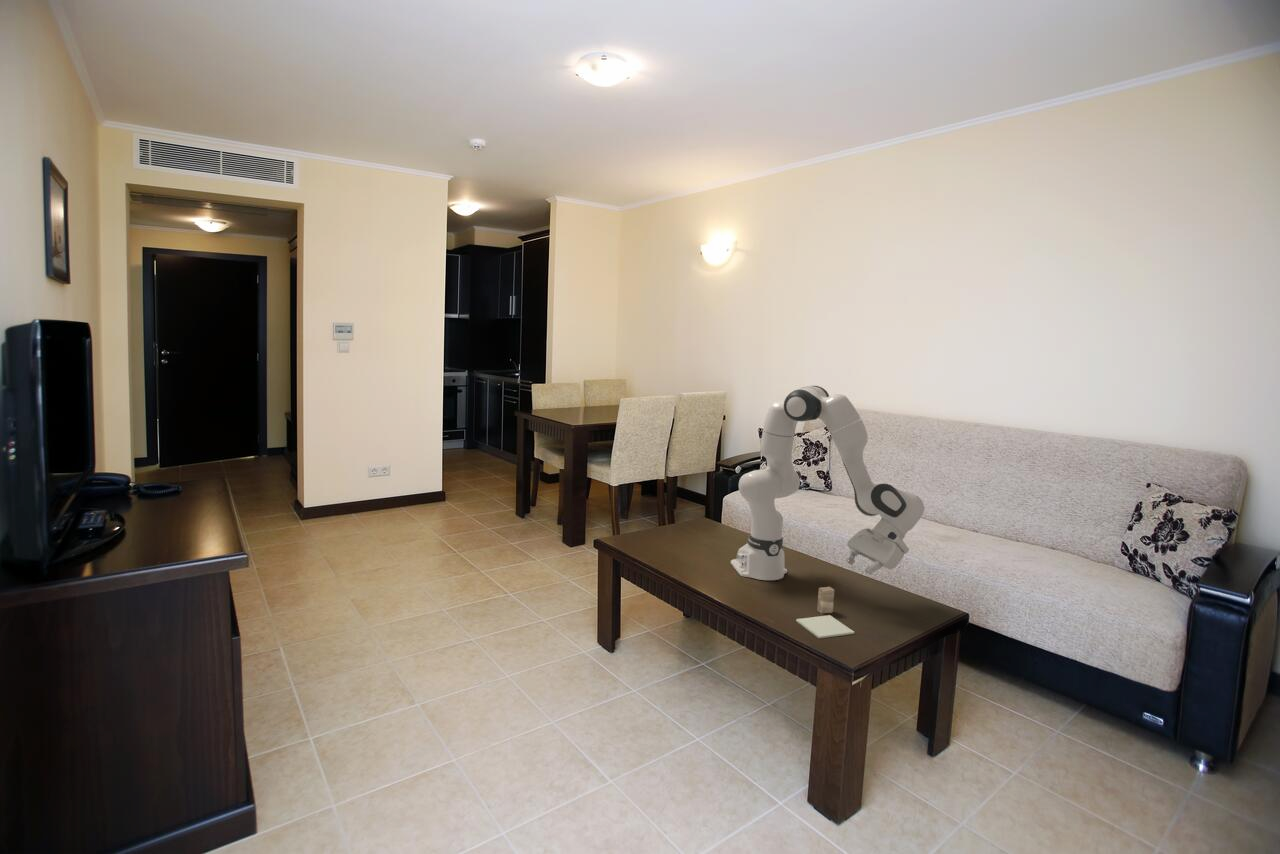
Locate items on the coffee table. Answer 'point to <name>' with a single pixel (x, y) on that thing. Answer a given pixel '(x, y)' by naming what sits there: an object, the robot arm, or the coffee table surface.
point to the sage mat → (824, 626)
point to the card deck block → (825, 600)
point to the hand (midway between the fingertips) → (858, 567)
